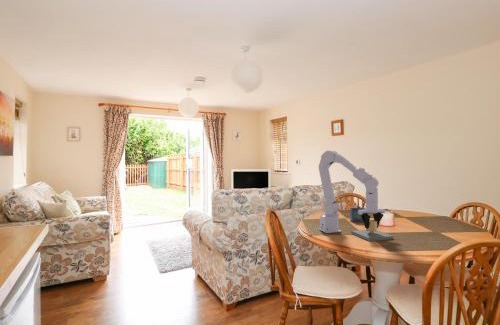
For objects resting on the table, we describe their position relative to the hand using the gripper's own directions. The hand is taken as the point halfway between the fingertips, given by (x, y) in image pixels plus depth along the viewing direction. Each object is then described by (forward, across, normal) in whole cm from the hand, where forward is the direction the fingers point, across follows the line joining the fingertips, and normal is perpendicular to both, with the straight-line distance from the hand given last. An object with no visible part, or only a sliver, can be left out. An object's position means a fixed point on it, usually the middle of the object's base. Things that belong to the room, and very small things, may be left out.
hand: (371, 227), depth 143 cm
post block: (+4, 0, 0) cm, 4 cm away
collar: (+2, 0, 0) cm, 2 cm away
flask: (+5, +14, +31) cm, 34 cm away
